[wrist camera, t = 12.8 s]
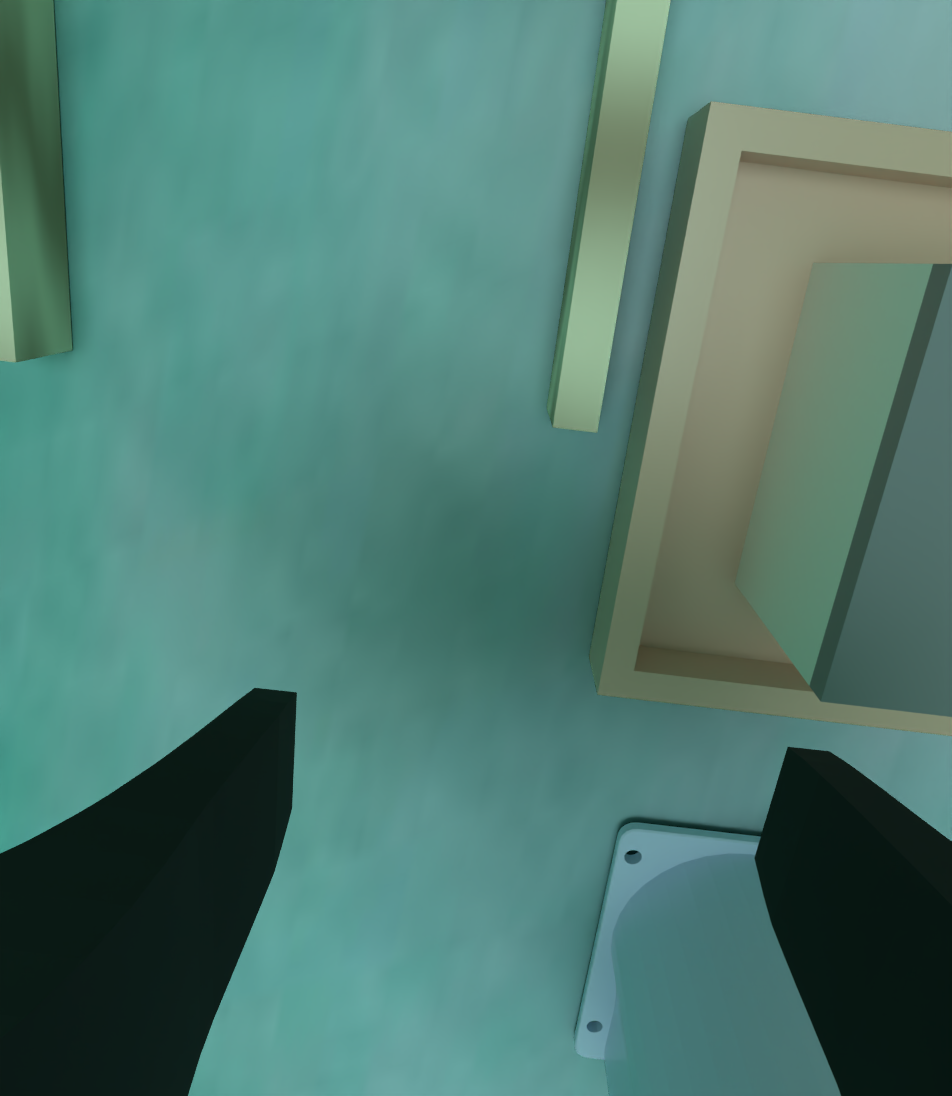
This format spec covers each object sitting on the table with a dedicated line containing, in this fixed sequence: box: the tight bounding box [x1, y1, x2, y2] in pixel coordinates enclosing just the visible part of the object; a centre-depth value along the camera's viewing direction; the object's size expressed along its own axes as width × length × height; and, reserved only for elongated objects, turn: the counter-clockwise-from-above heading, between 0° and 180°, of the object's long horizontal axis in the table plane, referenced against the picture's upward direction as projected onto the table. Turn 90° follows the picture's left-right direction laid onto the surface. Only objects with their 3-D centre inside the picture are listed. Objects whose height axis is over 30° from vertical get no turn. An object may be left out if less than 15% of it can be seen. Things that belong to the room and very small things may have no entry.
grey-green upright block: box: [735, 263, 952, 717], centre depth 17 cm, size 8×5×6 cm, turn 173°
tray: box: [589, 101, 952, 736], centre depth 19 cm, size 14×12×2 cm
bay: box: [0, 0, 671, 433], centre depth 17 cm, size 11×14×2 cm
